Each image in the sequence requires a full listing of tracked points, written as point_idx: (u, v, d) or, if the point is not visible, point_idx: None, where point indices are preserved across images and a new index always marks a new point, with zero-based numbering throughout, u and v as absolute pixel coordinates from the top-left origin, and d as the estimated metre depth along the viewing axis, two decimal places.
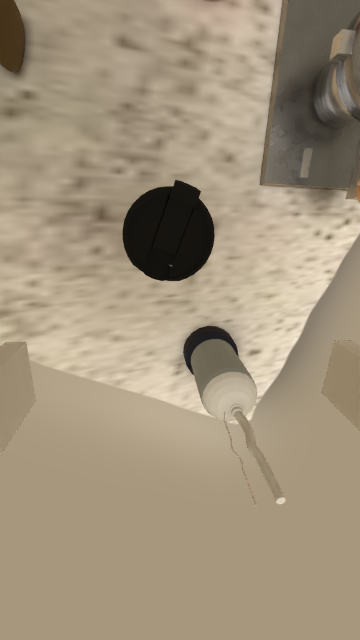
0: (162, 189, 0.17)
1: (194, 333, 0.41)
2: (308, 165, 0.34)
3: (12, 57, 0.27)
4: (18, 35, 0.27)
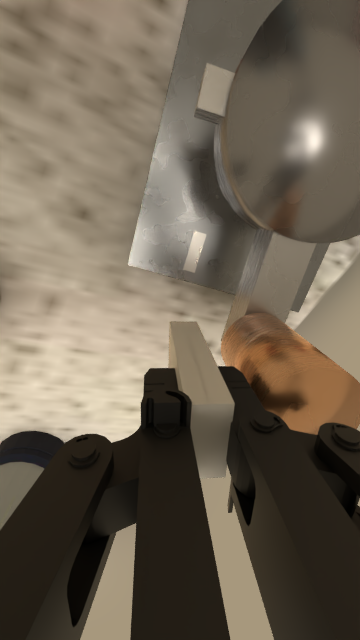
0: None
1: (10, 439, 0.28)
2: (198, 256, 0.22)
3: None
4: None
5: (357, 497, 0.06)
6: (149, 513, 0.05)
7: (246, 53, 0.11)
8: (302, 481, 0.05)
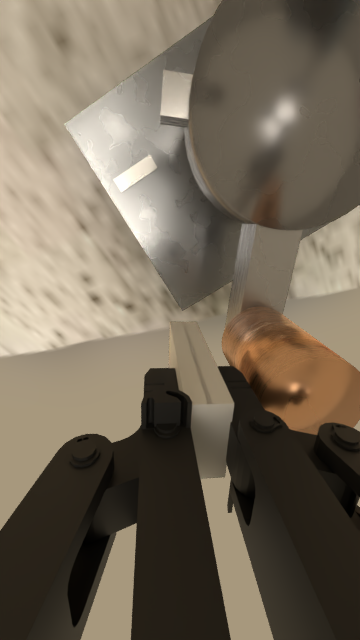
0: None
1: None
2: (135, 180, 0.20)
3: None
4: None
5: (357, 497, 0.06)
6: (149, 513, 0.05)
7: (199, 53, 0.11)
8: (301, 481, 0.05)
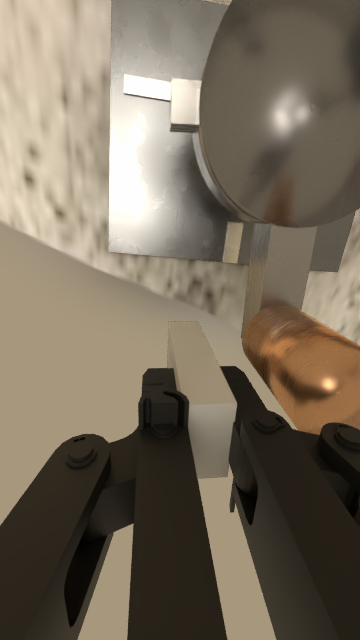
0: None
1: None
2: (144, 94, 0.18)
3: None
4: None
5: None
6: (146, 513, 0.05)
7: (208, 60, 0.11)
8: (304, 481, 0.05)
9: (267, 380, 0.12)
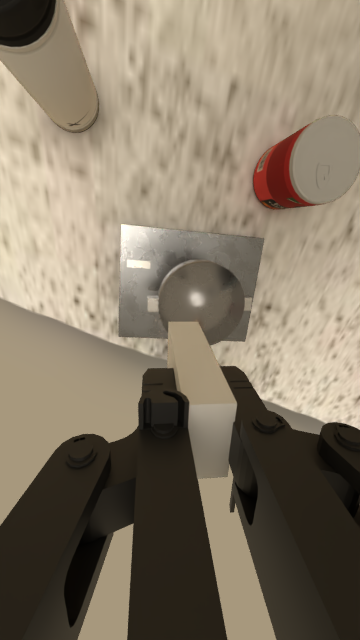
0: None
1: None
2: (136, 266, 0.37)
3: None
4: None
5: None
6: (146, 513, 0.05)
7: (160, 297, 0.30)
8: (304, 481, 0.05)
9: None
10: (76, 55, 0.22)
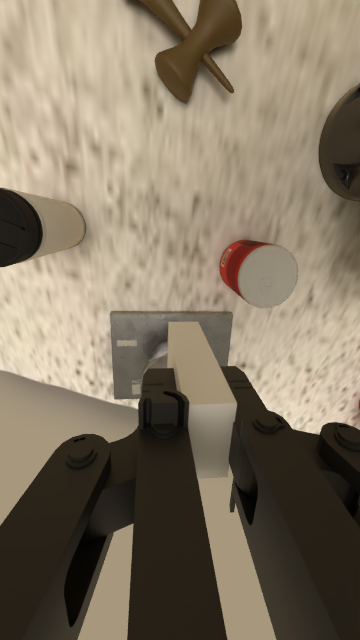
0: (24, 222, 0.21)
1: None
2: (125, 345, 0.45)
3: (159, 69, 0.32)
4: (171, 87, 0.33)
5: None
6: (146, 514, 0.05)
7: (141, 385, 0.37)
8: (304, 481, 0.05)
9: None
10: (61, 233, 0.29)
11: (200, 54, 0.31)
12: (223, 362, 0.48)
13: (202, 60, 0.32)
